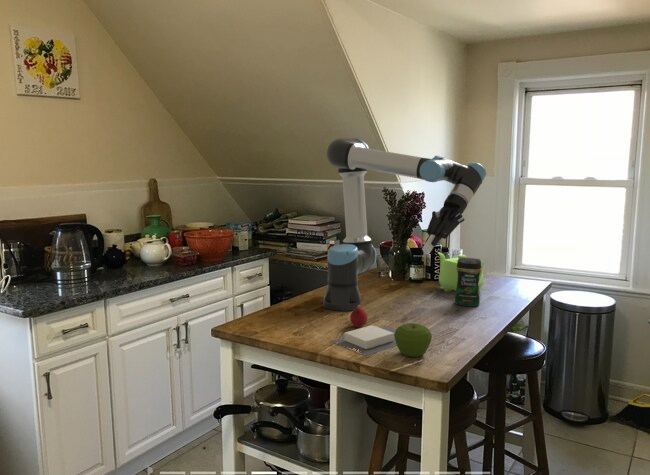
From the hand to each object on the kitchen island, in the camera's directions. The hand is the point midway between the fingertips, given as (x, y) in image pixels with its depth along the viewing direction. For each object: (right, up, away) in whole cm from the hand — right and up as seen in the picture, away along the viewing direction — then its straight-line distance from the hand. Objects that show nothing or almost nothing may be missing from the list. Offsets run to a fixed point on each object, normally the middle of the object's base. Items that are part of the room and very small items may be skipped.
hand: (425, 251), depth 183 cm
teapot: (+26, -18, +53) cm, 62 cm away
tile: (-15, -26, -9) cm, 31 cm away
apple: (-8, -30, -23) cm, 39 cm away
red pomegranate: (-22, -26, +2) cm, 35 cm away
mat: (-18, -28, -11) cm, 35 cm away
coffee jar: (+22, -22, +31) cm, 44 cm away
